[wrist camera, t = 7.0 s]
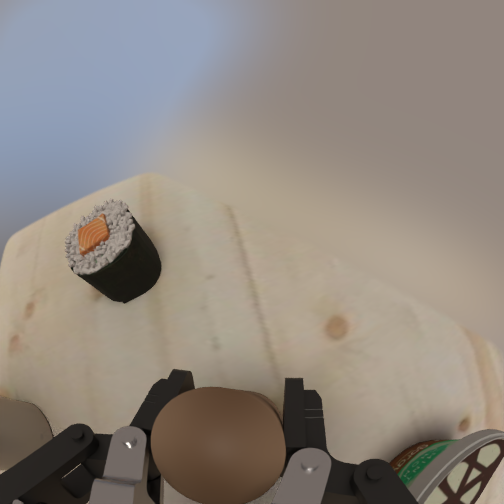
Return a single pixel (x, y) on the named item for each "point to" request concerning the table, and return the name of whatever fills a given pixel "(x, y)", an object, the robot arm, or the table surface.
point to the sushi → (113, 253)
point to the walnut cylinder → (219, 445)
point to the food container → (450, 467)
